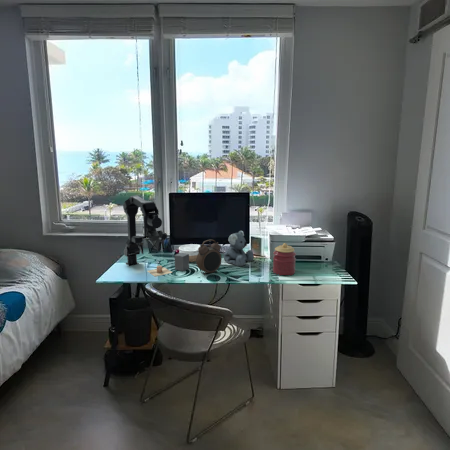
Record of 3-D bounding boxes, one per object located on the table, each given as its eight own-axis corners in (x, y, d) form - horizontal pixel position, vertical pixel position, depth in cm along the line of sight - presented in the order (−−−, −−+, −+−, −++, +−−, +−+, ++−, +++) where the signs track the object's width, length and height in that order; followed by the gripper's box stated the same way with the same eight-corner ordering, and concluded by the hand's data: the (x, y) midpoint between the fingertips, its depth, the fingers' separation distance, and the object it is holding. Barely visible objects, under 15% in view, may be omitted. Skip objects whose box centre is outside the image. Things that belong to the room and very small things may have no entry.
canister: (278, 277, 198) (279, 247, 194) (269, 269, 210) (270, 241, 206) (299, 275, 201) (300, 245, 197) (289, 267, 213) (290, 239, 209)
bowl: (175, 257, 233) (175, 245, 231) (198, 254, 240) (198, 243, 238) (183, 264, 219) (183, 252, 217) (207, 261, 226) (207, 249, 224)
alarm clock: (202, 277, 197) (201, 243, 192) (195, 274, 202) (195, 240, 198) (223, 272, 205) (223, 239, 201) (216, 269, 211) (216, 236, 206)
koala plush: (242, 267, 213) (242, 236, 209) (217, 262, 222) (217, 232, 218) (255, 260, 227) (255, 230, 223) (231, 255, 237) (231, 227, 232)
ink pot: (155, 271, 205) (155, 266, 204) (160, 270, 207) (160, 265, 206) (158, 273, 202) (158, 267, 202) (163, 271, 204) (163, 266, 203)
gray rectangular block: (175, 270, 208) (174, 255, 206) (181, 267, 213) (180, 252, 211) (183, 272, 205) (182, 256, 203) (189, 269, 210) (188, 254, 208)
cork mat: (146, 271, 206) (146, 271, 206) (163, 268, 212) (163, 267, 212) (155, 277, 197) (154, 276, 197) (172, 273, 203) (172, 272, 203)
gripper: (138, 230, 179) (140, 259, 182) (171, 225, 190) (172, 253, 193) (130, 226, 188) (132, 254, 191) (162, 221, 198) (163, 248, 202)
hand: (150, 252), depth 194 cm, fingers open, 9 cm apart
